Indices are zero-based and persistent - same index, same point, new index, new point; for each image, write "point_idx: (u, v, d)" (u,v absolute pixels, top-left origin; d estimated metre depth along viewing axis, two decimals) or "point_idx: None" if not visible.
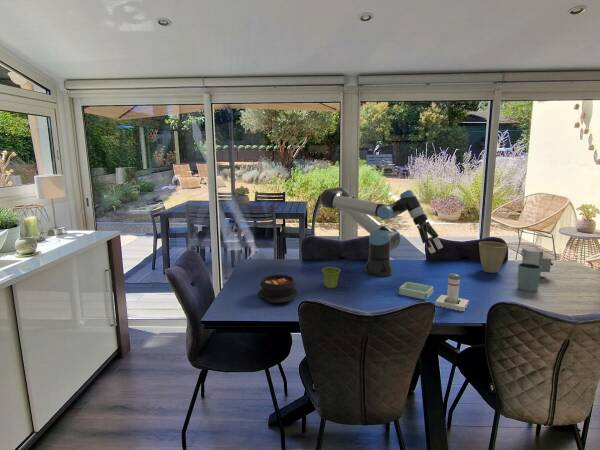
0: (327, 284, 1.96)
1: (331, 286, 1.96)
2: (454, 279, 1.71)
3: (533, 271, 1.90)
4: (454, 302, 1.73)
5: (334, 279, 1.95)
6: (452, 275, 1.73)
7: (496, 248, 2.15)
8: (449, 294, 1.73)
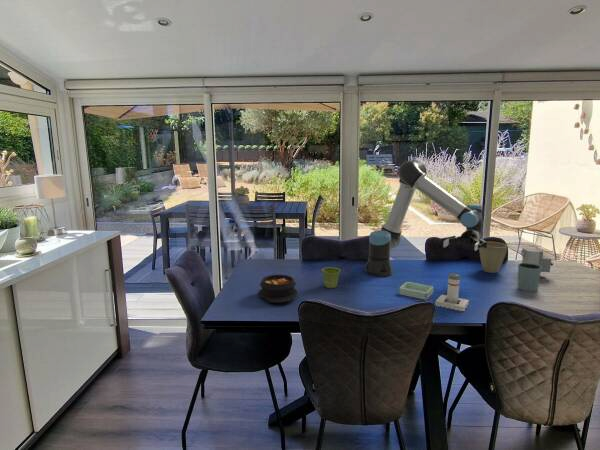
0: (327, 284, 1.96)
1: (331, 286, 1.96)
2: (454, 279, 1.71)
3: (533, 271, 1.90)
4: (454, 302, 1.73)
5: (334, 279, 1.95)
6: (452, 275, 1.73)
7: (496, 248, 2.15)
8: (449, 294, 1.73)
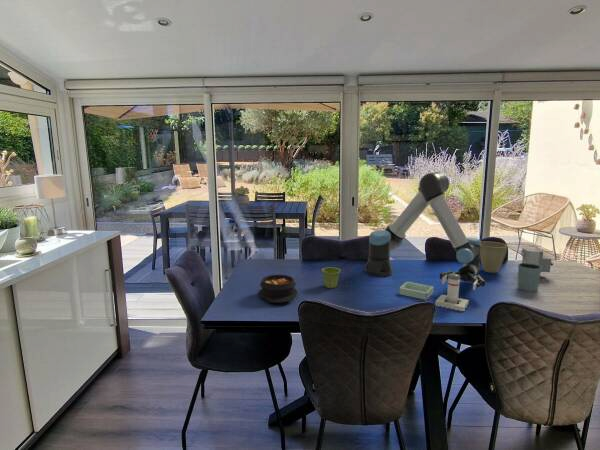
0: (327, 284, 1.96)
1: (331, 286, 1.96)
2: (454, 279, 1.71)
3: (533, 271, 1.90)
4: (454, 302, 1.73)
5: (334, 279, 1.95)
6: (452, 275, 1.73)
7: (496, 248, 2.15)
8: (449, 294, 1.73)
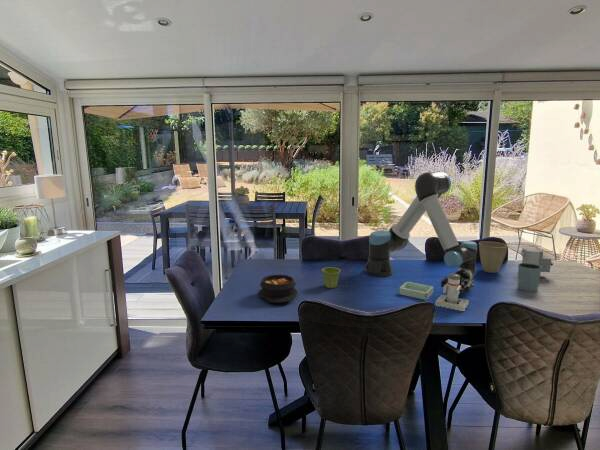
0: (327, 284, 1.96)
1: (331, 286, 1.96)
2: (454, 279, 1.71)
3: (533, 271, 1.90)
4: (454, 302, 1.73)
5: (334, 279, 1.95)
6: (452, 275, 1.73)
7: (496, 248, 2.15)
8: (449, 294, 1.73)
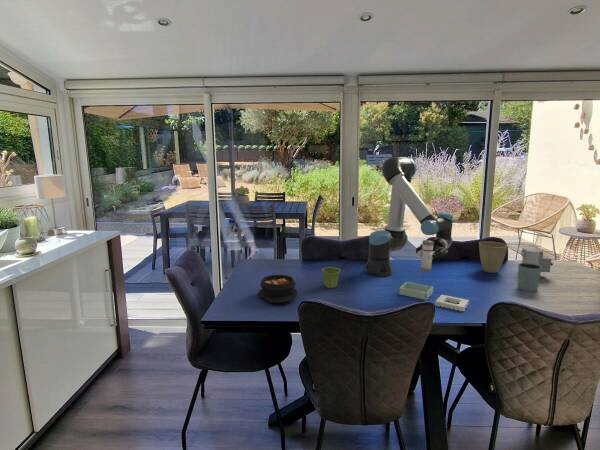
0: (327, 284, 1.96)
1: (331, 286, 1.96)
2: (428, 245, 1.79)
3: (533, 271, 1.90)
4: (427, 267, 1.81)
5: (334, 279, 1.95)
6: (426, 241, 1.81)
7: (495, 248, 2.15)
8: (423, 259, 1.82)
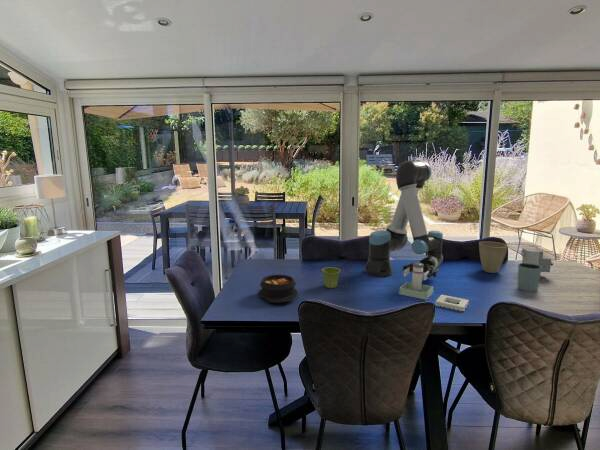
0: (327, 284, 1.96)
1: (331, 286, 1.96)
2: (418, 267, 1.85)
3: (533, 271, 1.90)
4: (418, 289, 1.87)
5: (334, 279, 1.95)
6: (416, 264, 1.87)
7: (496, 248, 2.15)
8: (413, 281, 1.88)
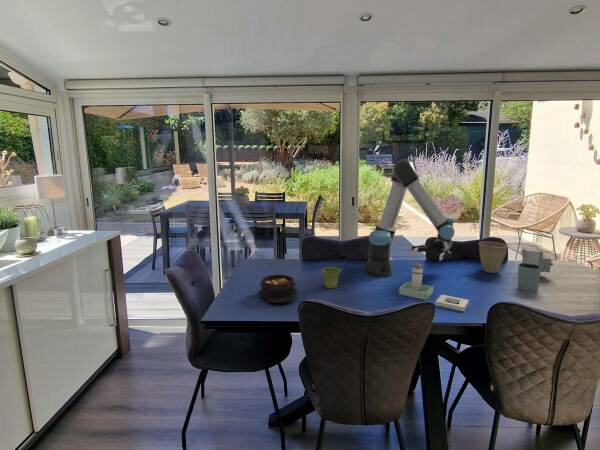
0: (327, 284, 1.96)
1: (331, 286, 1.96)
2: (417, 268, 1.85)
3: (533, 271, 1.90)
4: (417, 289, 1.87)
5: (334, 279, 1.95)
6: (416, 264, 1.87)
7: (496, 248, 2.15)
8: (413, 282, 1.87)
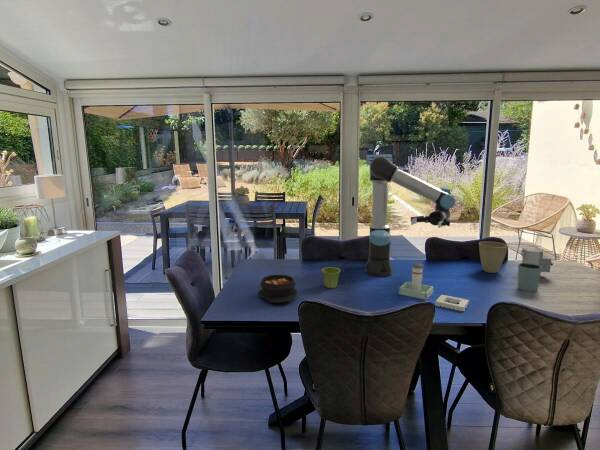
0: (327, 284, 1.96)
1: (331, 286, 1.96)
2: (417, 268, 1.85)
3: (533, 271, 1.90)
4: (417, 289, 1.87)
5: (334, 279, 1.95)
6: (416, 264, 1.87)
7: (496, 248, 2.15)
8: (413, 282, 1.87)
